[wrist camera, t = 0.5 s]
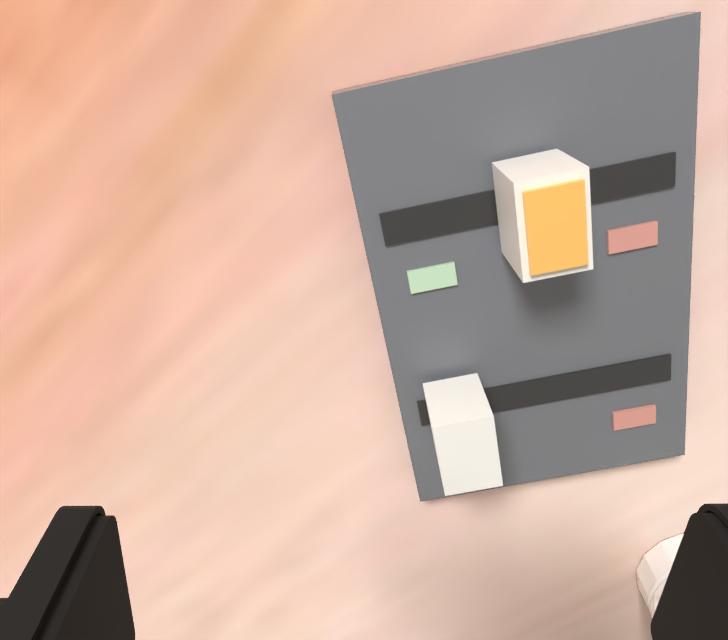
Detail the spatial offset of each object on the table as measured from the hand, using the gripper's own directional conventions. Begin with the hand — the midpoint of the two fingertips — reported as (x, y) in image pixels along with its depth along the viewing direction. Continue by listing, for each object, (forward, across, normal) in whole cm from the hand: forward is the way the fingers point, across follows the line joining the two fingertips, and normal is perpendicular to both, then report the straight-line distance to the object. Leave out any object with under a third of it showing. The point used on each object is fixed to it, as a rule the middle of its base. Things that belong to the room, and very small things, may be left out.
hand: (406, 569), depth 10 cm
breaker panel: (+22, -10, +4) cm, 25 cm away
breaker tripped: (+20, -8, -1) cm, 22 cm away
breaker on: (+21, -6, +11) cm, 24 cm away
